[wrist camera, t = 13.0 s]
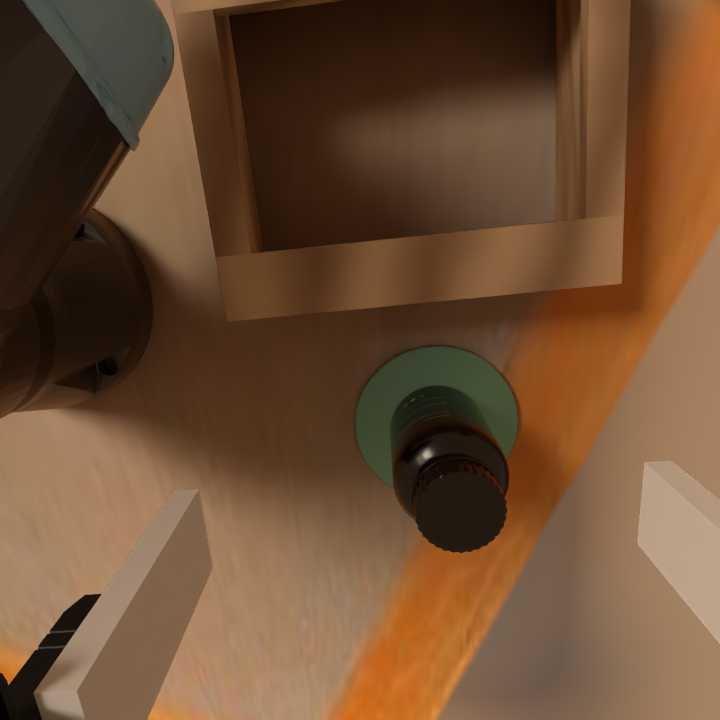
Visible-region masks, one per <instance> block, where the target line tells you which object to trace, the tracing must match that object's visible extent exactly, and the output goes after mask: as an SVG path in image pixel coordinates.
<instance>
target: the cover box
mask: <svg viewBox="0 0 720 720" xmlns="http://www.w3.org/2000/svg"><path fill="white" fill-rule="evenodd" d="M336 1H344V0H171V3H172V9H173V15H174V21H175V26H176V32H177V38H178V44H179V49H180V55H181V61H182V67H183V72H184V78H185V84H186V90H187V95H188V101H189V107H190V113H191V118H192V124H193V130H194V136H195V141H196V147H197V153H198V159H199V164H200V170H201V176H202V182H203V187H204V193H205V199H206V205H207V210H208V216H209V222H210V228H211V233H212V239H213V245H214V251H215V256H216V262H217V268H218V274H219V279H220V285H221V291H222V297H223V302H224V308H225V314H226V320H227V322H232V321H242V320H252V319H263V318H273V317H283V316H294V315H304V314H314V313H325V312H335V311H345V310H355V309H366V308H376V307H386V306H397V305H407V304H417V303H428V302H438V301H448V300H459V299H469V298H479V297H490V296H500V295H510V294H520V293H531V292H541V291H551V290H562V289H572V288H582V287H593V286H603V285H613V284H622V262H623V230H624V199H625V167H626V136H627V104H628V73H629V41H630V10H631V0H556V221H553V222H544V223H534V224H525V225H515V226H506V227H496V228H486V229H477V230H467V231H458V232H448V233H439V234H429V235H419V236H410V237H400V238H391V239H381V240H372V241H362V242H352V243H343V244H333V245H324V246H314V247H305V248H295V249H285V250H276V251H266V252H264V249H263V242H262V236H261V229H260V222H259V216H258V209H257V202H256V196H255V189H254V182H253V175H252V169H251V162H250V155H249V149H248V142H247V135H246V128H245V122H244V115H243V108H242V102H241V95H240V88H239V82H238V75H237V68H236V61H235V55H234V48H233V41H232V35H231V28H230V21H229V16H230V15H238V14H245V13H253V12H260V11H268V10H275V9H283V8H291V7H298V6H306V5H313V4H321V3H329V2H336Z"/></svg>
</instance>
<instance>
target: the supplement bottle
mask: <svg viewBox="0 0 720 720" xmlns="http://www.w3.org/2000/svg"><path fill="white" fill-rule="evenodd" d="M390 442H391V459H392V476H393V486H394V490H395V494H396V497H397V499H398V501H399V503H400V505H401V506H402V508H403V509H404V510H405V512H406V513H407V514H408V515H409V516H410V517H411V518H413V519H414V520H415V522H416V523H417V525H418V529H419V530H420V531H421V532H422V535H423V537H425V538H427V539H428V541H429V542H430V543H432V544H434V545H435V546H436V547H438V548H442V549H443V550H444V551H451V552H460V553H463V552H466V551H467V552H471V551H473V550H477V549H480V548H481V547H482V546H486V545H487V544H488V543H489V542H491V541H493V540H494V539H495V536H497V535H498V534H499V533H500V530H501V529H502V528H503V527H504V521H505V520H506V513H507V508H506V499H505V496H506V494H507V490H508V486H509V468H508V464H507V460H506V458H505V455H504V453H503V451H502V449H501V447H500V446H499V444H498V442H497V440H496V439H495V437H494V435H493V433H492V432H491V430H490V428H489V426H488V425H487V423H486V421H485V419H484V418H483V416H482V414H481V412H480V411H479V409H478V408H477V406H476V405H475V403H474V402H473V401H472V400H471V399H470V398H469V397H468V396H467V395H466V394H464V393H463V392H461V391H459V390H457V389H454V388H452V387H448V386H441V385H433V386H427V387H423V388H420V389H417V390H415V391H413V392H412V393H410V394H409V395H407V396H406V397H405V398H404V399H403V400H402V401H401V402H400V403H399V405H398V406H397V408H396V409H395V411H394V413H393V416H392V419H391V424H390Z"/></svg>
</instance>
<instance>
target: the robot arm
mask: <svg viewBox="0 0 720 720" xmlns="http://www.w3.org/2000/svg"><path fill="white" fill-rule="evenodd" d="M173 64H174V45H173V40H172V36H171V32H170V29H169V26H168V24H167V22H166V19H165V18H164V16H163V14H162V12H161V10H160V8H159V7H158V5H157V4H156V2H155V1H154V0H0V418H2V417H4V416H6V415H8V414H10V413H12V412H24V411H35V410H47V409H57V408H65V407H69V406H73V405H77V404H80V403H83V402H86V401H88V400H90V399H92V398H95V397H96V396H98V395H100V394H102V393H103V392H105V391H106V390H108V389H110V388H111V387H113V386H114V385H116V384H117V383H119V382H120V381H121V380H122V379H124V378H125V377H126V376H127V375H128V374H129V373H130V372H131V371H132V369H133V368H134V367H135V365H136V364H137V363H138V361H139V360H140V358H141V356H142V354H143V352H144V350H145V348H146V345H147V342H148V339H149V336H150V331H151V325H152V299H151V293H150V288H149V284H148V280H147V277H146V274H145V272H144V269H143V267H142V265H141V262H140V260H139V258H138V257H137V255H136V253H135V251H134V250H133V248H132V247H131V245H130V244H129V242H128V241H127V240H126V238H125V237H124V236H123V235H122V234H121V233H120V231H119V230H118V229H117V228H116V227H115V226H114V225H113V224H112V223H111V222H109V221H108V220H107V219H106V218H105V217H104V216H102V215H101V214H100V213H98V212H97V211H95V210H94V209H93V207H94V205H95V204H96V202H97V201H98V199H99V198H100V196H101V194H102V193H103V191H104V190H105V188H106V187H107V185H108V184H109V182H110V180H111V179H112V177H113V176H114V174H115V173H116V171H117V169H118V168H119V166H120V165H121V163H122V162H123V160H124V159H125V157H126V155H127V154H128V152H129V151H130V149H131V150H133V151H135V150H136V148H137V147H138V145H139V140H140V139H139V135H138V133H139V132H140V130H141V128H142V126H143V124H144V123H145V121H146V119H147V117H148V115H149V114H150V112H151V110H152V108H153V106H154V105H155V103H156V101H157V99H158V97H159V96H160V94H161V92H162V90H163V88H164V87H165V85H166V83H167V81H168V79H169V77H170V75H171V72H172V69H173ZM637 544H638V545H639V547H640V548H641V549H642V550H643V551H644V553H645V554H646V555H647V556H648V558H649V559H650V560H651V561H652V562H653V564H654V565H655V566H656V567H657V569H658V570H659V571H660V572H661V573H662V575H663V576H664V577H665V578H666V579H667V581H668V582H669V583H670V584H671V585H672V587H673V588H674V589H675V590H676V592H677V593H678V594H679V595H680V596H681V598H682V599H683V600H684V601H685V603H686V604H687V605H688V606H689V607H690V609H691V610H692V611H693V612H694V614H696V616H697V617H698V618H699V620H700V621H701V622H702V623H703V625H704V626H705V627H706V628H707V629H708V631H709V632H710V633H711V634H712V635H713V637H714V638H715V639H716V640H717V642H718V643H719V644H720V500H719V499H718V498H717V497H716V496H714V495H713V494H712V493H711V492H709V491H708V490H707V489H706V488H704V487H703V486H702V485H700V484H699V483H698V482H697V481H696V480H694V479H693V478H692V477H691V476H689V475H688V474H687V473H686V472H685V471H683V470H682V469H681V468H680V467H678V466H677V465H676V464H675V463H674V462H672V461H658V462H645V463H644V473H643V485H642V495H641V506H640V517H639V528H638V539H637ZM212 568H213V565H212V560H211V554H210V549H209V543H208V538H207V532H206V527H205V521H204V516H203V511H202V505H201V500H200V494H199V489H193V490H177V491H173V492H172V493H171V495H170V496H169V498H168V499H167V501H166V502H165V503H164V505H163V506H162V508H161V509H160V511H159V512H158V514H157V515H156V516H155V518H154V519H153V521H152V522H151V524H150V525H149V527H148V528H147V529H146V531H145V532H144V534H143V535H142V537H141V538H140V540H139V541H138V542H137V544H136V545H135V547H134V548H133V550H132V551H131V553H130V554H129V555H128V557H127V558H126V560H125V561H124V563H123V564H122V566H121V567H120V569H119V570H118V571H117V573H116V574H115V576H114V577H113V579H112V580H111V582H110V583H109V584H108V586H107V587H106V589H105V590H104V592H103V593H102V594H94V595H84V596H83V597H82V598H81V599H79V600H78V601H77V602H76V603H74V604H73V605H72V606H71V607H70V608H68V609H67V610H66V611H65V612H64V613H63V614H62V615H61V617H60V618H59V619H58V621H57V622H56V623H55V625H54V626H53V627H52V629H51V630H50V634H47V635H46V637H45V638H44V639H43V641H42V642H41V643H40V645H39V646H38V650H35V651H34V653H33V654H32V655H31V657H30V658H29V659H28V661H27V662H26V663H25V664H24V666H23V667H22V668H21V670H20V671H19V672H18V674H17V675H16V676H15V678H14V679H13V680H12V682H11V683H10V684H9V686H8V683H7V680H6V679H5V677H4V676H3V674H2V673H0V720H147V719H148V716H149V714H150V712H151V709H152V707H153V705H154V703H155V700H156V698H157V696H158V693H159V691H160V689H161V686H162V684H163V682H164V679H165V677H166V675H167V672H168V670H169V668H170V665H171V663H172V661H173V658H174V656H175V654H176V651H177V649H178V647H179V644H180V642H181V640H182V638H183V635H184V633H185V631H186V628H187V626H188V624H189V621H190V619H191V617H192V614H193V612H194V610H195V607H196V605H197V603H198V600H199V598H200V596H201V593H202V591H203V589H204V586H205V584H206V582H207V579H208V577H209V575H210V573H211V570H212Z"/></svg>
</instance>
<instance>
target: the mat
mask: <svg viewBox="0 0 720 720" xmlns="http://www.w3.org/2000/svg"><path fill="white" fill-rule="evenodd" d="M433 385H441V386H448V387H452V388H454V389H457V390H459V391H461V392H463V393H464V394H466V395H467V396H468V397H469V398H470V399H471V400H472V401H473V402H474V403H475V405H476V406H477V408H478V409H479V411H480V412H481V414H482V416H483V418H484V419H485V421H486V423H487V425H488V426H489V428H490V430H491V432H492V433H493V435H494V437H495V439H496V440H497V442H498V444H499V446H500V447H501V449H502V451H503V453H504V455H505V458H506V460H507V458H508V456H509V454H510V452H511V450H512V448H513V445H514V442H515V440H516V435H517V430H518V413H517V407H516V403H515V399H514V396H513V394H512V391H511V389H510V388H509V386H508V384H507V382H506V381H505V380H504V378H503V377H502V376H501V375H500V373H499V372H498V371H497V370H496V369H495V368H494V367H493V366H492V365H491V364H490V363H488V362H487V361H486V360H484V359H483V358H481V357H479V356H478V355H476V354H474V353H472V352H469V351H466V350H464V349H460V348H456V347H452V346H441V345H439V346H425V347H419V348H416V349H412V350H409V351H406V352H404V353H402V354H399V355H398V356H396V357H394V358H392V359H391V360H389V361H388V362H387V363H385V364H384V365H383V366H381V367H380V368H379V369H378V370H377V371H376V373H375V374H374V375H373V376H372V377H371V379H370V380H369V381H368V383H367V384H366V386H365V388H364V390H363V392H362V394H361V397H360V399H359V403H358V407H357V412H356V422H355V425H356V436H357V442H358V445H359V448H360V451H361V453H362V455H363V457H364V459H365V461H366V462H367V464H368V465H369V467H370V468H371V469H372V470H373V472H374V473H375V474H376V475H377V476H378V477H379V478H381V479H382V480H383V481H384V482H385V483H387V484H389V485H390V486H392V487H393V488H394V486H393V476H392V459H391V442H390V424H391V419H392V416H393V413H394V411H395V409H396V408H397V406H398V405H399V403H400V402H401V401H402V400H403V399H404V398H405V397H406V396H407V395H409V394H410V393H412V392H413V391H415V390H417V389H420V388H423V387H427V386H433Z"/></svg>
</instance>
